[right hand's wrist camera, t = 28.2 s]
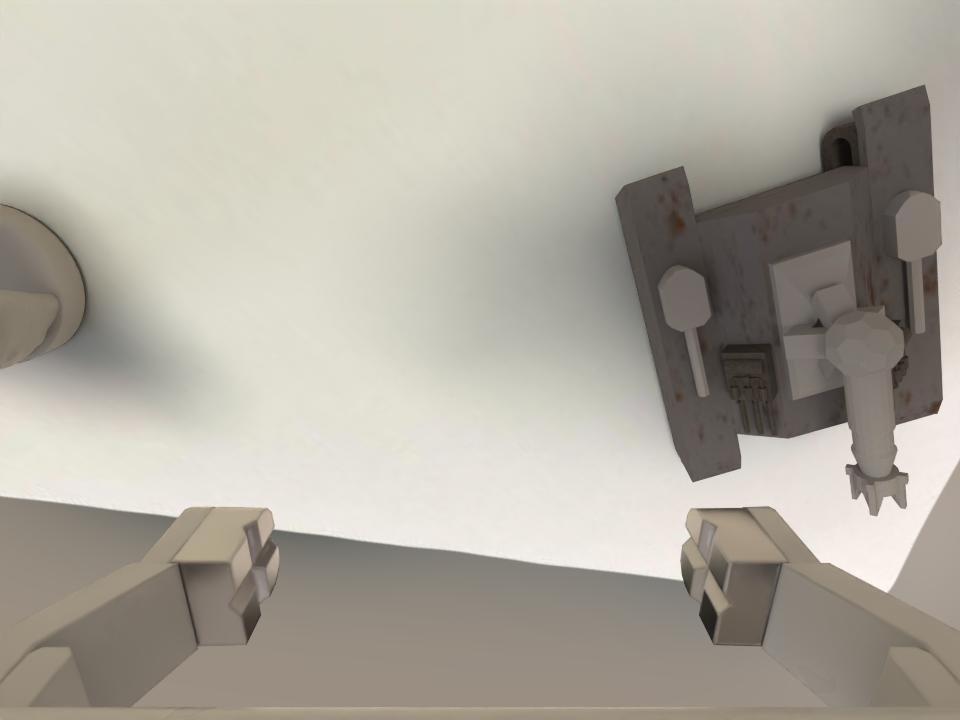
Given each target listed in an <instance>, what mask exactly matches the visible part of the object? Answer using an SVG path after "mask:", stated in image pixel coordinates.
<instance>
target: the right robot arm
mask: <svg viewBox="0 0 960 720" xmlns="http://www.w3.org/2000/svg"><path fill="white" fill-rule="evenodd" d="M274 527H275V525H274V520H273V515H272V512H271V511H270V510H269V509H268V508H244V507H217V508H216V507H191V508H188V509H185V510H184V511H183V513H182V514H181V515H180V516H179V517H178V518H177V520H176V521H175V522H174V523H173V524H172V525H171V527H170V528H169V529H168V530H167V531H166V532H165V534H164V535H163V536H162V537H161V538H160V539H159V540H158V542H157V543H156V544H155V545H154V546H153V547H152V549H151V550H150V551H149V552H148V553H147V555H146V556H145V557H144V558H143V559H142V560H141V561H140V563H130V564H128V565H126V566H124V567H122V568H120V569H118V570H116V571H115V572H113V573H111V574H109V575H107V576H105V577H103V578H101V579H99V580H97V581H95V582H93V583H92V584H90V585H88V586H86V587H84V588H82V589H80V590H78V591H76V592H74V593H72V594H70V595H69V596H67V597H65V598H63V599H61V600H59V601H57V602H55V603H53V604H51V605H49V606H47V607H45V608H44V609H42V610H40V611H38V612H36V613H34V614H32V615H30V616H28V617H26V618H24V619H22V620H21V621H19V622H17V623H15V624H13V625H11V626H9V627H7V628H5V629H3V630H1V631H0V720H960V631H958V630H956V629H954V628H952V627H951V626H949V625H947V624H945V623H943V622H941V621H939V620H937V619H935V618H933V617H932V616H930V615H928V614H926V613H924V612H922V611H920V610H918V609H916V608H914V607H912V606H910V605H909V604H907V603H905V602H903V601H901V600H899V599H897V598H895V597H893V596H891V595H889V594H888V593H886V592H884V591H882V590H880V589H878V588H876V587H874V586H872V585H870V584H868V583H866V582H865V581H863V580H861V579H859V578H857V577H855V576H853V575H851V574H849V573H847V572H845V571H844V570H842V569H840V568H838V567H836V566H834V565H832V564H830V563H820V561H819V560H818V559H817V558H816V557H815V556H814V554H813V553H812V552H811V551H810V550H809V549H808V547H807V546H806V545H805V544H804V543H803V542H802V540H801V539H800V538H799V537H798V536H797V535H796V534H795V532H794V531H793V530H792V529H791V528H790V527H789V525H788V524H787V523H786V522H785V521H784V520H783V518H782V517H781V516H780V515H779V514H778V513H777V511H776V510H775V509H773V508H771V507H743V508H700V509H690V511H689V513H688V515H687V520H686V525H685V527H686V529H687V530H688V532H689V534H690V536H691V537H690V538H689V539H688V540H687V541H686V542H685V543H684V544H683V545H682V552H681V570H682V577H683V580H684V584H685V587H686V589H687V591H688V593H689V595H690V597H692V598H693V599H695V600H696V601H697V602H699V603H700V604H701V606H700V612H699V616H700V618H701V620H702V622H703V624H704V626H705V628H706V630H707V632H708V634H709V636H710V638H711V640H712V642H713V644H714V645H733V646H762V649H763V650H764V651H765V652H766V653H768V654H769V655H770V656H771V657H772V658H773V659H774V660H776V661H777V662H778V663H779V664H780V665H781V666H783V667H784V668H785V669H786V670H787V671H788V672H790V673H791V674H792V675H793V676H794V677H795V678H797V679H798V680H799V681H800V682H801V683H802V684H803V685H805V686H806V687H807V688H808V689H809V690H810V691H812V692H813V693H814V694H815V695H816V696H817V697H819V698H820V699H821V700H822V701H823V702H824V703H826V704H827V705H828V706H829V707H131V706H132V705H134V704H135V703H136V702H137V701H138V700H139V699H140V698H142V697H143V696H144V695H145V694H146V693H147V692H149V691H150V690H151V689H152V688H153V687H154V686H156V685H157V684H158V683H159V682H160V681H161V680H163V679H164V678H165V677H166V676H167V675H168V674H170V673H171V672H172V671H173V670H174V669H175V668H176V667H178V666H179V665H180V664H181V663H182V662H183V661H185V660H186V659H187V658H188V657H189V656H190V655H191V654H193V653H194V652H195V651H196V650H197V649H198V646H226V645H246V644H247V642H248V640H249V638H250V636H251V634H252V632H253V630H254V628H255V626H256V624H257V622H258V620H259V618H260V616H261V612H260V606H259V604H260V603H261V602H263V601H264V600H265V599H267V598H268V597H270V595H271V593H272V591H273V589H274V586H275V584H276V580H277V575H278V571H279V551H278V545H277V544H276V543H275V542H274V541H273V540H272V539H271V538H270V537H269V536H270V534H271V532H272V530H273V529H274Z"/></svg>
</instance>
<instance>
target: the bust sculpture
mask: <svg viewBox="0 0 960 720" xmlns="http://www.w3.org/2000/svg"><path fill="white" fill-rule="evenodd" d="M84 308H85V292H84V286H83V282H82V278H81V275H80V272H79V270H78V268H77V266H76V264H75V262H74V260H73V258H72V256H71V255H70V253H69V252H68V250H67V249H66V248H65V246H64V245H63V244H62V243H61V241H60V240H59V239H58V238H57V237H56V236H55V235H54V234H53V233H52V232H51V231H50V230H48V229H47V228H46V227H45V226H44V225H42V224H41V223H39V222H38V221H37V220H35V219H34V218H32V217H30V216H28V215H27V214H25V213H23V212H20V211H18V210H16V209H13V208H10V207H7V206H4V205H0V369H3V368H6V367H9V366H11V365H13V364H16V363H21V362H25V361H28V360H31V359H33V358H35V357H37V356H40V355H42V354H44V353H47V352H49V351H51V350H53V349H56V348H58V347H60V346H61V345H63V344H64V343H66V342H67V341H68V340H69V339H70V338H71V337H72V336H73V335H74V333H75V332H76V331H77V329H78V327H79V325H80V323H81V321H82V318H83V314H84Z"/></svg>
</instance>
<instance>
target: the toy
mask: <svg viewBox="0 0 960 720" xmlns="http://www.w3.org/2000/svg"><path fill="white" fill-rule="evenodd" d="M852 114H853V117H854V122H851V123H849V124H846V125H843V126H840V127H837V128H834V129H832V130H831V131H829V132H828V133H827V134H826V136H825V137H824V140H823V146H822V150H823V159H824V168H825V172H824V173H821V174H818V175H815V176H812V177H809V178H806V179H803V180H800V181H797V182H794V183H791V184H788V185H785V186H782V187H779V188H776V189H773V190H770V191H767V192H764V193H761V194H758V195H755V196H752V197H749V198H746V199H743V200H740V201H737V202H734V203H731V204H728V205H725V206H721V207H718V208H715V209H712V210H709V211H706V212H703V213H700V214H697V215H694V210H693V205H692V200H691V194H690V189H689V185H688V181H687V178H686V174H685V171H684V167H683V166H682V167H679V168H676V169H673V170H670V171H667V172H664V173H661V174H658V175H655V176H652V177H649V178H646V179H643V180H640V181H637V182H634V183H631V184H628V185H625V186H624V187H623V188H622V190H621V191H620V192H619V194H618V195H617V196H616V198H615V199H616V203H617V207H618V211H619V216H620V220H621V224H622V228H623V232H624V236H625V241H626V245H627V249H628V253H629V257H630V261H631V266H632V270H633V274H634V278H635V282H636V286H637V291H638V295H639V299H640V303H641V307H642V311H643V316H644V320H645V324H646V328H647V332H648V336H649V341H650V345H651V349H652V353H653V357H654V361H655V366H656V370H657V374H658V378H659V382H660V386H661V391H662V395H663V399H664V403H665V407H666V411H667V416H668V420H669V424H670V428H671V432H672V436H673V440H674V444H675V448H676V451H677V453H678V455H679V457H680V459H681V462H682V463H683V465H684V466H685V468H686V470H687V472H688V474H689V476H690V478H691V480H692V482H696V481H699V480H703V479H706V478H709V477H713V476H716V475H720V474H723V473H727V472H730V471H734V470H737V469H740V468H741V453H740V448H739V443H738V437H737V434H745V435H756V436H767V437H778V438H792V437H796V436H799V435H803V434H806V433H810V432H814V431H817V430H821V429H824V428H828V427H832V426H835V425H839V424H842V423H846V422H848V425H849V428H850V429H851V430H852V438H853V444H852V446H851V450H852V453H853V455H854V457H855V459H856V461H857V464H856V465H849V464H847V465H846V467H845V468H846V474H847V475H850V484H851V493H852V499H856V500H857V498H858V497H859V495H860V493H861V492H862V493H863V494H864V497H865V499H866V502H867V504H868V507H869V510H870V515H873V516H877V515H878V512H879V509H880V506H881V503H882V500H883V497H887V496H892V498H893V499H894V500H895V502H896V503H897V504H898V505H899V507H900V508H903V509H906V506H907V502H906V488H905V484H908V481H909V480H908V473H902V472H899V470H898V468H897V467H896V466H895V465H894V464H893V463H894V460H895V456H896V453H897V447H896V445H895V444H894V435H893V430H894V429H895V427H896V425H898V424H901V423H905V422H908V421H912V420H915V419H919V418H922V417H926V416H929V415H933V414H937V413H938V411H939V408H940V405H941V403H942V400H943V394H942V369H941V346H940V323H939V300H938V277H937V254H936V250H937V249H938V248H939V247H940V246H941V244H942V237H941V212H940V202H939V201H938V200H937V199H935V198H934V186H933V163H932V140H931V118H930V103H929V100H928V96H927V92H926V88H925V85H922V86H919V87H916V88H913V89H910V90H907V91H904V92H901V93H898V94H895V95H892V96H889V97H886V98H883V99H880V100H877V101H874V102H871V103H868V104H865V105H862V106H859V107H858V108H856V109H855V110H853V111H852Z"/></svg>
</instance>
